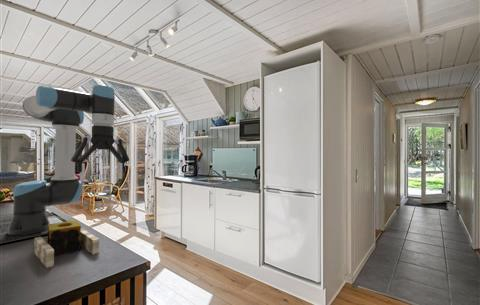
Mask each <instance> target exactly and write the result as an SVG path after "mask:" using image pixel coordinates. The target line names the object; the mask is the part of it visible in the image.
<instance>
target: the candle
mask: <svg viewBox="0 0 480 305" xmlns="http://www.w3.org/2000/svg"><path fill="white" fill-rule="evenodd" d="M81 227H82V226H81V224H80V222H79V221H78V219H77V220H76V219H75V220H71V221H62V222H55V223H50V224H48V229H47V240H46V242H47V243H48V244H49V245H50V246H51V247H52V248H53V249H54V257H56V256H57V257H58V256H62V255H66V254H71V253H76V252H80V251H81V245H80V235H81V234H80V232H81V229H82V228H81Z"/></svg>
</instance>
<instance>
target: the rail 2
mask: <svg viewBox="0 0 480 305" xmlns="http://www.w3.org/2000/svg"><path fill="white" fill-rule="evenodd" d="M80 234H81V235H80V247H82V248H83V249H85V250H87V252H89V254H91V255H93V256H94V255H97V254H99V252H100V239H99V238H98V237H97V236H95V235H94V234H92V233H90V232H89V231H87V230H86V229H84V228H81V232H80Z"/></svg>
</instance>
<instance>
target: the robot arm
mask: <svg viewBox="0 0 480 305" xmlns="http://www.w3.org/2000/svg"><path fill="white" fill-rule="evenodd" d="M115 98H116V96H115V89H114V87H111V86H109V85H105V84H95V85H93V86H92V91H91V93H86V92H81V91H74V90H69V89H65V88H64V89H63V88H58V87H53V86H47V85H39V86H37V89H36V93H35V95H31V96H28V97H26V98H25V99H24V100H23V101H22V109H23V111H24V112H25V114H27V115H28V116H29V117H31V118H34V119H35V120H39V121H43V122H50V123H51V126H52V127H53V128H54V129H55V138H54V139H55V146H54V175H53V176H52V177H51V178H50V182H47V181H46V180H45V179H42V180H41V179H40V180H32V181H26V182H21V183H17V184H16V185H15V186H14V188H13V194H12V196H13V210H12V211H13V212H12V213H13V214H12V218H11V220H10V223H9V225H8V228H7V234H8V235H9V236H25V235H33V234H37V233H40V232H44V231H46V230H47V231H48V224H51V223H50V221H49V218H48V215H47V212H46V207H51V206H58V205H69V204H73V203H77V202H78V201H79V200H80V198H81V197H82V194H83V182H85V181H86V180H85V177H86V176H85V174H86V172H85V171H86V170H85V166H86V163H84V162H85V161H86V160H87V159H88V158H89V156H91V155H92V153H94V151H96V150H108V151H109V152H111V153H112V154H113V156H114V157H115V158H116V159H117V161H118V162H117V172H116V173H117V175H116V177H117V179H118V180H123V171H125V163H127V162H129V161H130V158H129V155H128V154H127V151H126V150H125V147H124V144H123V140H122V139H121V138H114V137H115V136H114V135H115V132H114V130H115V129H114V127H113V126H114V125H115ZM85 113H86V114H91V124H92V126H91V137H87V136H83V137H82V138H81V141H80V142H81V143H80V144H79V146H78V147H77V149H76V141H77V140H76V136H77V135H76V134H77V132H76V131H77V130H78V129H79V128H80V125H83V123H84V120H85V115H84V114H85ZM89 143H91V146H89V148H88V149H87V150H86V151H85V152H84V150H85V148H86V146H87V144H89ZM114 144H115V145H116V146H117V149H118V150H119V151H118V150H116V148H115V146H114ZM83 152H84V153H83ZM82 153H83V154H82ZM81 154H82V155H81ZM76 172H77V173H79V177H78V176H77V175H76V174H75V173H76Z"/></svg>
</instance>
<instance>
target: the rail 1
mask: <svg viewBox="0 0 480 305" xmlns="http://www.w3.org/2000/svg"><path fill="white" fill-rule="evenodd" d="M33 246H34V248H33V253H34V254H35V255H36V257H37V258H38V260H40V262H41V263H42V265H43V266H44V267H45V269H49V268H52V267H54V265H55V256H54V249H53V248H52V247H51V246H50V245H49V244H48V243H47V240H45V239H44V238H43V237H42V236H38V237H34V243H33Z"/></svg>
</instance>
